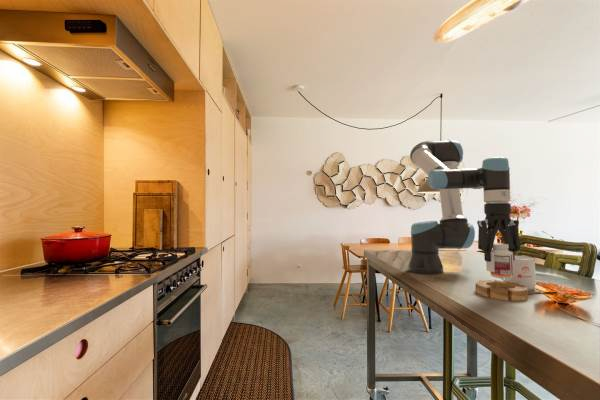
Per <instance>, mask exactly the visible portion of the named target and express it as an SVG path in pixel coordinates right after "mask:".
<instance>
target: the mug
mask: <svg viewBox="0 0 600 400" xmlns="http://www.w3.org/2000/svg"><path fill="white" fill-rule="evenodd" d="M514 256H515V257H514V258H515V260H514V261H513V265H514V271H513V277H512V278H509V279H505V278H499V279H500V280H501V281H506V282H510V283H516V284H520V285H523V286H525V287H527V292H533V291H534V290H535V289H536V288H535V286H536V287H537V284H536V283H537V280H536V279H537V278H536V261H535V259H536V258H534V257H531V256H525V255H514Z"/></svg>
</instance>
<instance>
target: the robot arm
mask: <svg viewBox="0 0 600 400" xmlns="http://www.w3.org/2000/svg"><path fill="white" fill-rule="evenodd" d="M409 158H410V162H411V163H412V164H413V165H414V166H416V167H419V168H420V169H421V170H422V171H423V172H424V173H425V174H426V175H427V183H428V187H429V188H430V189H432V190H433V189H434V190H439V198H440V205H441V216H442V217H441V219H440V220H439V222H438V221H437V220H428V221H420V222H419V221H418V222H415V223H413V224H412V225H411V226H410V237H411V238H410V239H411V241H410V243H411V256H410V259H409V261H408V265H407V266H408V267H407V269H408V270H407V271H408V272H412V273H414V274H422V275H441V274H443V273H444V266H443V264H442V261H441V258H440V256H439V250H442V249H446V250H449V249H450V250H451V249H453V250H454V249H457V250H463V249H470V248H471V247H472V246H473V245H474V244H473V243H474V242H475V238H476V231H475V230H476V229H475V227H474V225H473V224H472V223H470V222H468V218H467V217H465V216H464V213H463V207H462V199H461V191H460V189H461V190H462V189H463V190H464V189H471V190H473V189H474V190H481V189H483V202H484V203H485V204H484V206H483V211H484V214H485V218H484V219H483V220H477V222H476V223H477V226H478V235H477V237H478V238H477V239H478V240H477V241H478V243H477V248H478V250H480V251H482V252H483V256H484V257H483V258H484V261H485V262H486V264H485V265H486V271H487V272H490V271H491V272H495V263H494V252H491V251H492V250H493V248H492V247H493V244H494V243H495V239H496V235H497V233H500V234H501V238H502V241H503V244H508V245H509V249H508V250H509V251H510V252H511V253H512V267H513V271H514V265H513V261H514V260H515V258H514V257H515V256H516V255H515V252H518V250H520V249H521V243H520V233H519V224H520V221H519V220H518V219H512V218H511V217H510V215H511V213H512V204H511V203H510V202H511V182H510V181H511V180H510V169H511V168H510V165H509V159H508V158H507V157H503V156H496V157H489V158H485V159H483V160H482V163H481V167H480V168H478V167H477V168H458V167H459V166H460V163H462V161H463V160H464V159H463V158H464V150H463V147H462V144H461V143H460V142H459V141H457V140H454V139H453V140H450V139H446V140H428V141H427V140H426V141H422V142H419V143H417V144H416V145H415V146H414V147H413V148H412V149H411V150H410V153H409Z"/></svg>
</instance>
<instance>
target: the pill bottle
mask: <svg viewBox="0 0 600 400" xmlns="http://www.w3.org/2000/svg"><path fill="white" fill-rule="evenodd" d="M508 249H509V245H508V244H504V243H498V242H497V243H495V242H494V244H493V247H492V251H491V252H494V263H495V272H491V271H489V272H490V275H491V277H493V278H498V279H500V278H503V279H504V280H505V279H509V278H512V277H513V267H512V253H511V252H510V251H509V250H508Z"/></svg>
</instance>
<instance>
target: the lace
mask: <svg viewBox="0 0 600 400" xmlns="http://www.w3.org/2000/svg"><path fill="white" fill-rule="evenodd" d="M527 295H541V292H539V291H538V290H537V291H527Z"/></svg>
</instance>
